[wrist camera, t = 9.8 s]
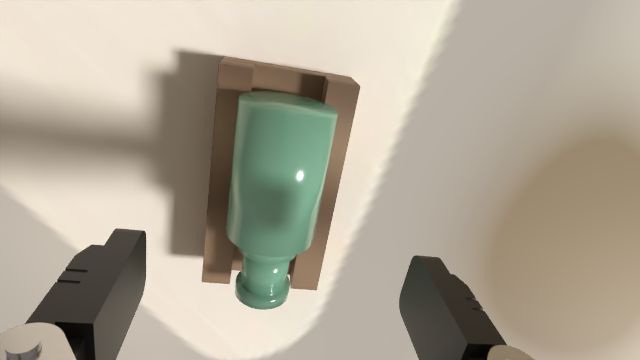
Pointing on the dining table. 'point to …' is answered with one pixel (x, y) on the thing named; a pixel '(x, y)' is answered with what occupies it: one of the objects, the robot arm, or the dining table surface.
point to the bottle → (276, 188)
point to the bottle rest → (231, 84)
